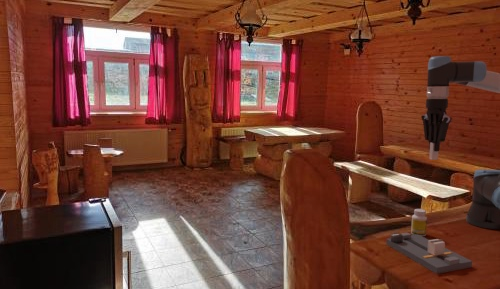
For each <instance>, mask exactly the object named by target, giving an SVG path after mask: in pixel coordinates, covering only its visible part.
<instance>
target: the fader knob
mask: <svg viewBox="0 0 500 289" xmlns="http://www.w3.org/2000/svg"><path fill="white" fill-rule="evenodd" d="M445 248H446V242H445V241H443V239H439V238H436V239H435V238H434V239H428V252H429V253H431V254H433V255H440V254H444V249H445Z"/></svg>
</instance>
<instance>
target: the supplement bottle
mask: <svg viewBox="0 0 500 289" xmlns="http://www.w3.org/2000/svg"><path fill="white" fill-rule="evenodd" d="M426 211H427V210H425V209H423V208H415V209H414V212H413V213H414V214H412V216H411V228H410V229H411V230H410V234H411V235H417V234H418V235H420V236H422V237H425V236H427V228H428V227H427V225H428V217H427V215H426V214H427V213H426Z"/></svg>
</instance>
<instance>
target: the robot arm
mask: <svg viewBox="0 0 500 289" xmlns="http://www.w3.org/2000/svg"><path fill="white" fill-rule="evenodd" d="M450 84H457V85H461V86H465V87H466V86H467V87H471V88H476V89H480V90H483V91H488V92H493V93H498V94H500V73H499V72H496V71H490V70H488V68H487V64H486V62H484V61H477V60H474V61H472V60H471V61H469V60H468V61H452V57H451V56H449V55H440V56H439V55H438V56H431V57H429V60H428V64H427V84H426V97H427V99H426V100H425V108H426V109H427V110H426V113H425V114H424V115H421V120H422V124H423V131H424V140H425V141H427V142H428V143H429V144H428V150H429V157H428V158H429V159H428V160H435V161H436V160H439V152H440V147H441V146H440V145H441V143H444V142H445V141H446V139H447V138H446V137H447V134H448V129H449V125H450V123H451V122H452V117H451V116H449V115H447V114H448V113H447V109H448V107H449V99H448V97H449V95H450V94H449V92H450ZM472 185H473V186H472V197H471V198H472V199H471V200H472V201H471V205H470V207H469V209H468V211H467V213H466V216H465V221H466V222H467V223H468V224H470V225H472V226H476V227H478V228H479V227H480V228H482V229H483V228H484V229H490V230H500V169H491V168H490V169H485V168H484V169H482V168H481V169H480V168H479V169H476V170H475V171H474V174H473V184H472Z"/></svg>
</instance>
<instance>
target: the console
mask: <svg viewBox="0 0 500 289" xmlns="http://www.w3.org/2000/svg"><path fill="white" fill-rule="evenodd" d="M428 240H429V239H428V238H426V237H425V236H423V237H422V236H420V235H418V234H417V235H413V234H411V233H409V232H402V233H398V232H391V234H390V238H386V244H385V245H387V246H389V247H391V248H392V249H394V250H395V251H397V252H398V253H401V255H404V256H406V257H407V258H409V259H411V260H412V261H414V262H416V263H417V264H419V265H421V266H423V267H424V268H426V269H427V270H429V271H431V272H432V273H435V274H443V273H447V272H448V273H449V272H453V271H458V270H465V269H468V268H469V269H470V268H473V267H472V266H473V260H470V259H469V258H467V257H464V256H463V255H461V254H459V253H456V252H454V251H452V250H450V249H448V248H447V247H445V249H444V254H440V255H433V254H431V253H429V252H428Z"/></svg>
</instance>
